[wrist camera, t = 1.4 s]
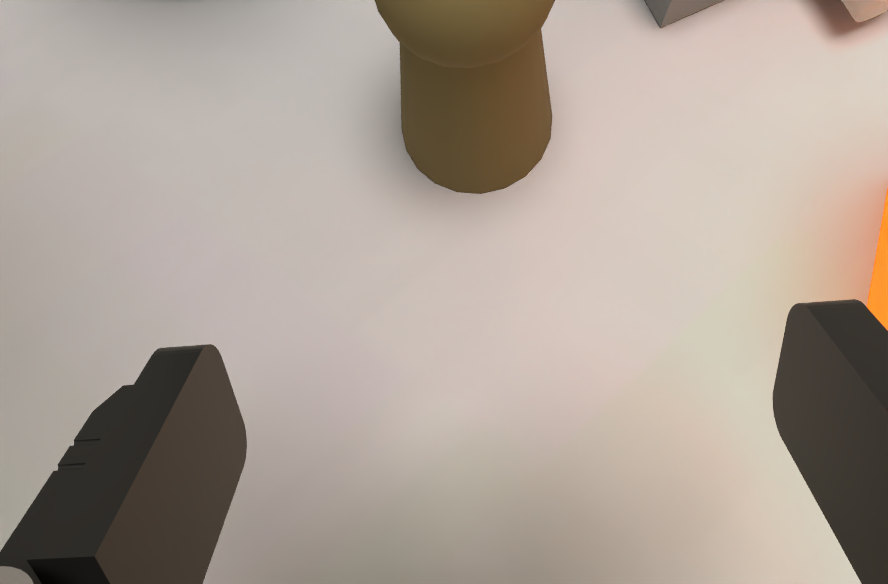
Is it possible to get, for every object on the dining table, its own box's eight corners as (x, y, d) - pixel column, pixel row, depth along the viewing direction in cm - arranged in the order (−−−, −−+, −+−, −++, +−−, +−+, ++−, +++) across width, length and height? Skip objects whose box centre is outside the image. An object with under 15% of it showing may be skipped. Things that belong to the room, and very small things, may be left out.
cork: (486, 27, 29) (477, -220, 18) (584, 129, 28) (636, -72, 17) (371, 116, 28) (294, -84, 18) (466, 224, 27) (443, 79, 16)
